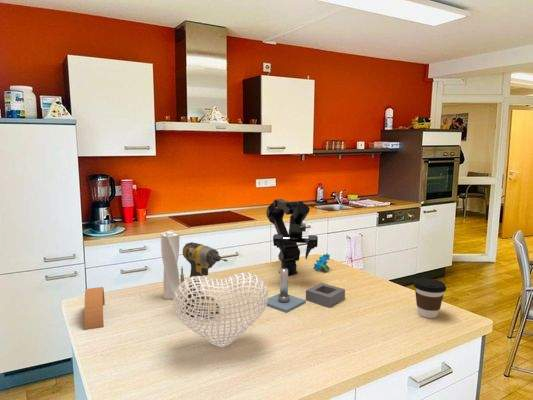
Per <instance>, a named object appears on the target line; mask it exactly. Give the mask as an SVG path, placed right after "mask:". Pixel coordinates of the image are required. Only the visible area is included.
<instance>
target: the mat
mask: <svg viewBox="0 0 533 400" xmlns="http://www.w3.org/2000/svg"><path fill="white" fill-rule="evenodd" d="M279 294H280V292H279V293H277V294H275V295H273V296H271V297H268V302H267V305H266V307H269V308H271V309H275V310H278V311H281V312H283V313H286V314H288V313H289V312H292V310H295V309H296V308H299V307H300V306H301V307H302V305H304V304H306V302H307V300H306V299H303V298H300V297H297V296H293V295H291V294H289V295H290V301H289V302H288V303H280V302H279V301H278V295H279ZM264 303H265V302H264Z"/></svg>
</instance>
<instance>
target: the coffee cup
mask: <svg viewBox="0 0 533 400" xmlns="http://www.w3.org/2000/svg"><path fill="white" fill-rule="evenodd" d="M412 285H413V287H414V288H415V289H414V291H415V292H414V293H415V302H416V303H415V304H416V306H417V312H418V314H419V315H420V317H422V318H425V319H426V318H427V319H435V318H437V317H438V316H439V311H440V309H441V307H442V302H443V298H444V293H445V292H446V291H447V285H446V284H445V283H444V282H443V281H441V280H439V279H435V278H429V277H428V278H427V277H420V278H416V279H415V280H414V282H413V284H412Z"/></svg>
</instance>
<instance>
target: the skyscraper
mask: <svg viewBox="0 0 533 400" xmlns="http://www.w3.org/2000/svg"><path fill="white" fill-rule="evenodd" d="M160 250H161V251H160V252H161V260H162V264H163V285H162V286H163V300H173V299H174V295H175V291H176V289H177V288H178V286H179V285H180V284H181V283H182V282H183V281H184V280H185V274H184V268H183V267H181V268H180V270H181V271H180V272H179V266H178V260H179V255H180V234H179V233H178V231H177V230H172V229H171V230H166V231H164V232H161V233H160ZM184 287H185V285H184V286H183V287H182V288H184ZM185 290H186V289H185ZM185 290H184V291H185ZM182 291H183V290H182ZM179 292H180V290H179ZM179 292H178V293H179ZM180 294H182V293H180ZM178 298H179V296H178ZM181 300H183V295H182V296H181Z"/></svg>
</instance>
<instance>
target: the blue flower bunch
mask: <svg viewBox="0 0 533 400" xmlns="http://www.w3.org/2000/svg"><path fill="white" fill-rule="evenodd" d="M330 256H331V255H330V254H328V253H326V254H325V253H324V254H322V255H321V256H319V257H318V259H316V260H315V262H316V263H314V264H313V269H314V270H315V271H318V270H321V269H323V270H325V271H326V272H327V273H330V271H329V269H330V267H329V266H328V265H327V264H328V261H329V260H330V259H331V257H330Z"/></svg>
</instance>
